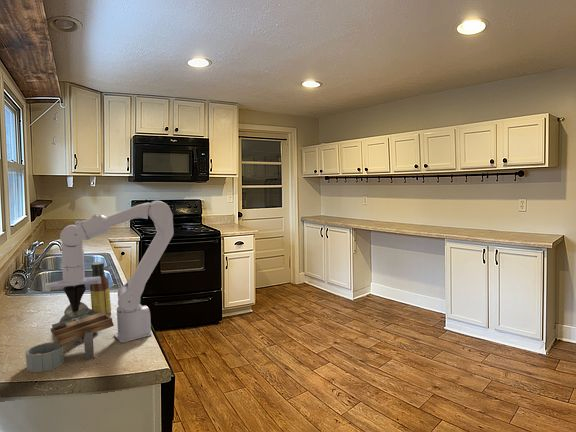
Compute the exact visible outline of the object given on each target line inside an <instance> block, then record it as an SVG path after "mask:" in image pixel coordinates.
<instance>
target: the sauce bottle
mask: <svg viewBox="0 0 576 432" xmlns="http://www.w3.org/2000/svg"><path fill="white" fill-rule="evenodd" d="M90 265H91V269H92V271H91V272H92V276H91V277H97V276H99V277H101V284H91V285H89V291H90V292H89V293H90V304H91V309H92V310H94V311H95V312H96V313H101V312H102V313H103V314H104V315H105V314H108V315H109V316H110V317H111V316H112V312H111V311H112V303H111V292H110V286H109V285H110V284H109V280H108V277H106V275H105V269H104V268H105V264H104V262H103V261H97V262H96V261H95V262H93V263H91V264H90Z"/></svg>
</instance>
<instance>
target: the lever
mask: <svg viewBox="0 0 576 432" xmlns="http://www.w3.org/2000/svg"><path fill="white" fill-rule="evenodd" d="M114 326H115V325H114V322H113V318H112V317H111V315H110V316H109V315H108V314H105V315H104V314H103V313H102V312H101V313H97V314H94V315H91V316H88V317H85V318H82V319H79V320H78V319H76V320H75V321H72V322H69V323H66V324H65V322H64V321H62V322H59V321H58V322H56V323H53V324H51V327H52V328H50V329H49V330H50V332H51V334H52V336H53V337H54V339H55V342H57V343H58V344H59V345H61V344H62V345H63V344H66V343H70V342H73V340H75V339H78V338H81V339H82V338H84V333H85V332H90V331H92V332H93V333H94V334H95V333H98V332H100V331H103V330H107V329H108V328H111V327H114Z"/></svg>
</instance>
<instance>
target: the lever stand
mask: <svg viewBox="0 0 576 432" xmlns="http://www.w3.org/2000/svg"><path fill="white" fill-rule="evenodd" d="M76 319H78V320H79V319H80V318H74V319H72V321H75V320H76ZM72 343H73V345H77V344H82V343H84V346H83V347H84V360H85V361H86V362H88V361H91V360H95V347H94V334H93V332H92V331H90V332H85V333H84V337H83V342H82V337H81V338H78V339H75V340H72Z"/></svg>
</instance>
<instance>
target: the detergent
mask: <svg viewBox="0 0 576 432" xmlns="http://www.w3.org/2000/svg"><path fill="white" fill-rule="evenodd" d="M94 314H97V313H96V312H95V311H94V310H92V308H89V307H88V305H87V304H86V303H84V302H82V301H80V305H79V310H78V311H76V312H73V311H72V308H71V304H70V303H69V304H68V306H66V308H65V310H64V315H63V316H62V317H61V318H60V319H59V321H58V323H59V322H62V321H64V322H65V324H66V323H69V322H72V319H74V318H80V319H82V318H85V317H88V316H91V315H94ZM94 334H95V333H93V335H94Z"/></svg>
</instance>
